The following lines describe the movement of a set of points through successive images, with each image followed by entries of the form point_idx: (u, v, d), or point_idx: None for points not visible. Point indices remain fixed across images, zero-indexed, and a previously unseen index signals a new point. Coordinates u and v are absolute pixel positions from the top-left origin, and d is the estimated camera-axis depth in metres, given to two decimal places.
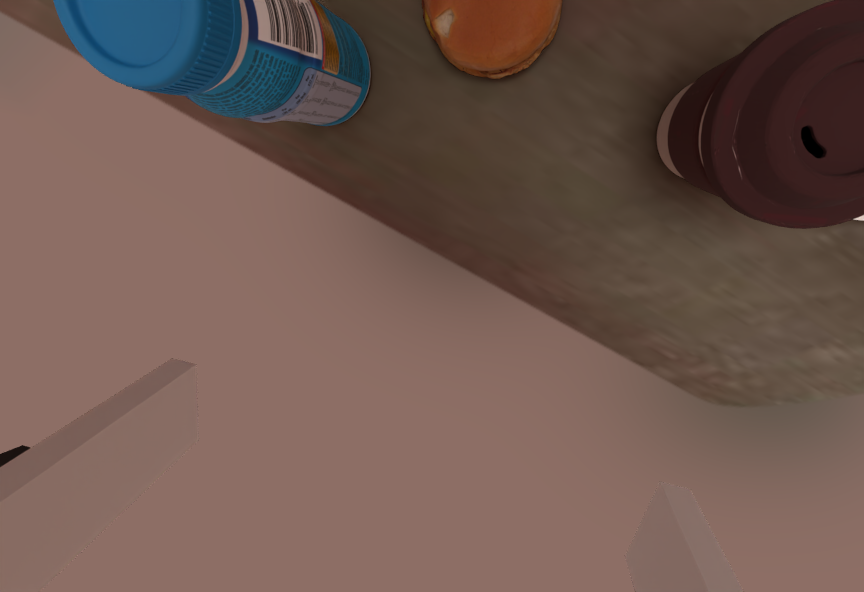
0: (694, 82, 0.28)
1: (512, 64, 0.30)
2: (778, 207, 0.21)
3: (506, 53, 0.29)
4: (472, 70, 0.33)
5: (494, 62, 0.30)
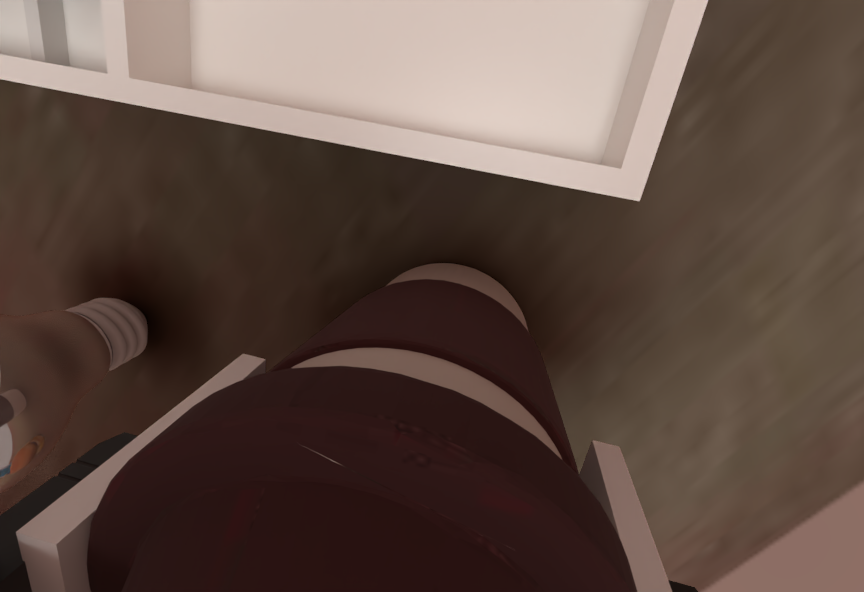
0: None
1: None
2: None
3: None
4: None
5: None
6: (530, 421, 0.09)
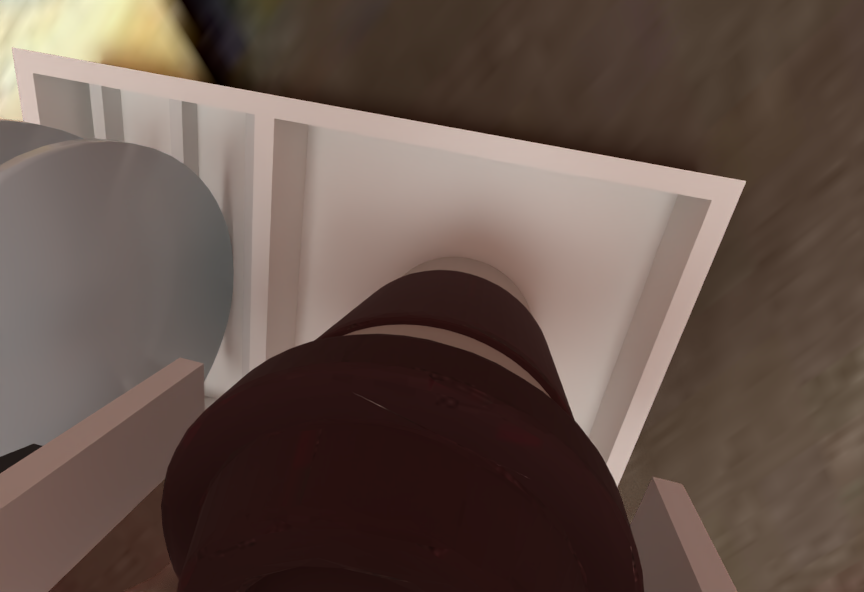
0: None
1: None
2: None
3: None
4: None
5: None
6: (537, 387, 0.10)
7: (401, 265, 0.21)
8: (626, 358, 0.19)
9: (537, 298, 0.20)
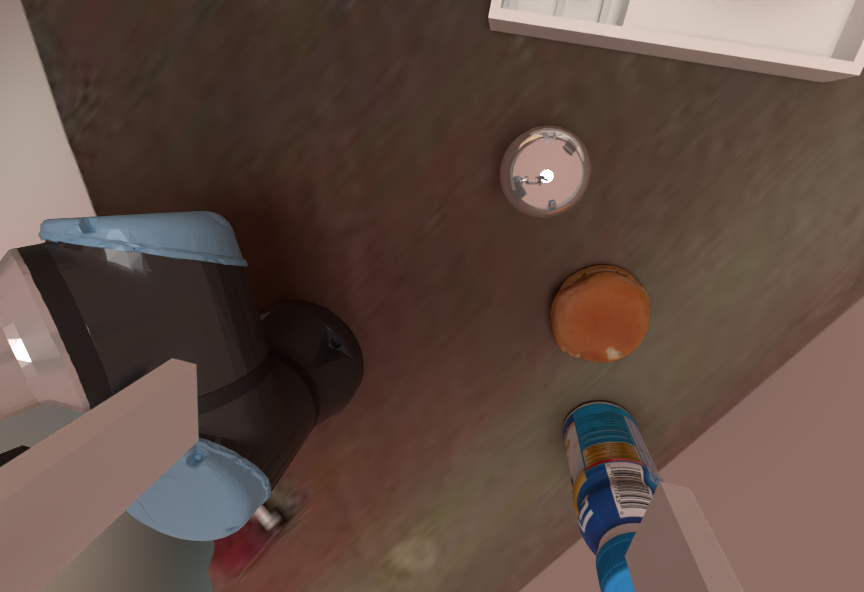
0: None
1: (649, 309, 0.41)
2: None
3: (644, 316, 0.41)
4: None
5: (647, 324, 0.41)
6: None
7: None
8: None
9: None
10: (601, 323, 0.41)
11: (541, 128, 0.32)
